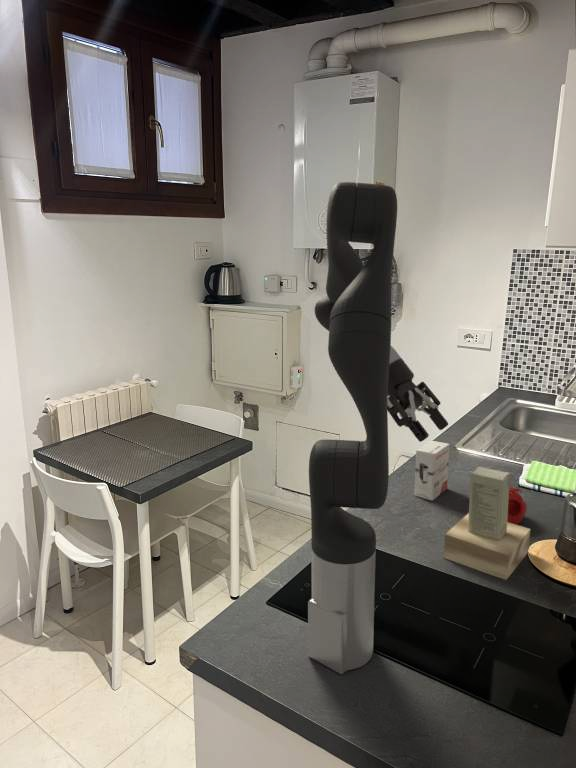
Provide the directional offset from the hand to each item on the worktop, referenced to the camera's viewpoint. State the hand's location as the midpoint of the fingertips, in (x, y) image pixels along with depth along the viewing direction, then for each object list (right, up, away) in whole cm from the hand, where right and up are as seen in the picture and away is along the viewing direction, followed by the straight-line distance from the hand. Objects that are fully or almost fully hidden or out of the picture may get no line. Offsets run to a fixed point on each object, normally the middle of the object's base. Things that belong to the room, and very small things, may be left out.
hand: (435, 433), depth 114 cm
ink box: (+5, -17, +25) cm, 31 cm away
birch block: (+9, -23, -2) cm, 25 cm away
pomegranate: (+17, -20, +12) cm, 29 cm away
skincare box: (+9, -19, -3) cm, 21 cm away
